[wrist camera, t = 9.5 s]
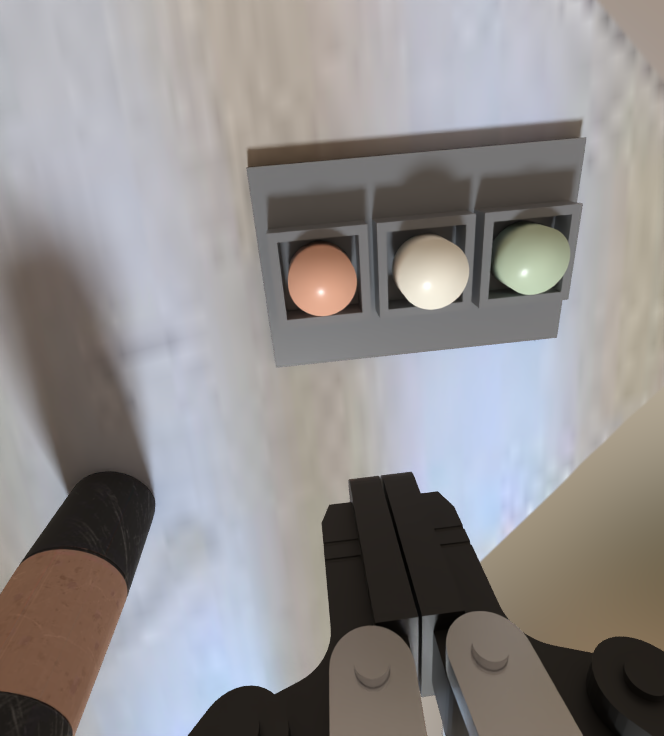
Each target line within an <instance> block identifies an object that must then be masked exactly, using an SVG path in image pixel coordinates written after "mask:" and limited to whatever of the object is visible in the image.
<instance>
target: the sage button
mask: <svg viewBox="0 0 664 736" xmlns="http://www.w3.org/2000/svg"><path fill="white" fill-rule="evenodd" d="M569 261H570V247H569V243H568V241H567V239H566V238H565V236H564V235H563V234H562V233H561V232H559V231H558V230H556V229H554V228H550V227H547V226H544V225H540V224H537V223H533V222H528V221H523V222H517V223H514V224H512V225H510V226H508V227H506V228H505V229H504V230H503V231H502V232H500V233H499V235H498V236H497V237H496V238H495V240H494V242H493V244H492V254H491V267H490V270H491V272H492V274H493V275H494V277H495V278H496V279H497V280H499V281H500V282H502V283H503V284H505V285H507V286H508V287H510V288H512V289H513V290H515V291H516V292H518V293H521V294H525V295H534V294H539V293H542V292H545V291H547V290H548V289H550V288H551V287H553V286H554V285H555V284H556V283H557V282H558V281H559V280H560V279H561V278H562V276H563V275H564V273H565V272H566V270H567V267H568V264H569Z"/></svg>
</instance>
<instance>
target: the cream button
mask: <svg viewBox="0 0 664 736" xmlns="http://www.w3.org/2000/svg"><path fill="white" fill-rule="evenodd" d="M392 275H393V279H394V282H395V284H396V285H397V287H398V288H399V289H400V291H401V292H402V293H403V295H404V296H405V297H406V298H407V300H408V301H409V302H410V303H412V304H413V305H415V306H417V307H419V308H422V309H428V310H433V309H439V308H443V307H445V306H447V305H449V304H451V303H452V302H453V301H455V300H456V299H457V298H458V297H459V296H460V295H461V293H462V292H463V290H464V289H465V287H466V284H467V282H468V278H469V264H468V260H467V258H466V256H465V254H464V252H463V251H462V250H461V249H460V248H459V247H458V246H457V245H455V244H453V243H452V242H450V241H448V240H446V239H445V238H443V237H441V236H439V235H436V234H430V233H424V234H419V235H416V236H414V237H411V238H410V239H408V240H407V241H406V242H404V243H403V244H402V245H401V246H400V248H399V249H398V251H397V252H396V254H395V257H394V259H393V264H392Z"/></svg>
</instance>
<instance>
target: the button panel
mask: <svg viewBox="0 0 664 736" xmlns="http://www.w3.org/2000/svg"><path fill="white" fill-rule="evenodd" d="M585 144H586V137H585V138H570V139H559V140H548V141H537V142H526V143H515V144H503V145H492V146H481V147H470V148H459V149H448V150H436V151H425V152H414V153H403V154H392V155H381V156H370V157H358V158H347V159H336V160H325V161H314V162H303V163H291V164H280V165H269V166H258V167H248V168H247V175H248V182H249V189H250V195H251V202H252V209H253V215H254V222H255V229H256V236H257V242H258V249H259V256H260V263H261V269H262V276H263V283H264V289H265V296H266V303H267V310H268V316H269V323H270V330H271V337H272V343H273V350H274V357H275V363H276V368H277V367H286V366H296V365H305V364H314V363H324V362H333V361H342V360H352V359H361V358H371V357H380V356H389V355H399V354H408V353H417V352H427V351H436V350H445V349H455V348H464V347H473V346H483V345H492V344H501V343H511V342H520V341H530V340H539V339H548V338H557V333H558V326H559V319H560V312H561V306H562V300H567V299H568V297H569V290H570V284H571V277H572V271H573V264H574V258H575V251H576V245H577V238H578V232H579V225H580V219H581V212H582V206H583V204H582V203H577V198H578V191H579V184H580V178H581V171H582V164H583V157H584V151H585ZM523 221H528V222H533V223H537V224H540V225H544V226H547V227H550V228H554V229H556V230H558V231H559V232H561V233H562V234H563V235H564V236H565V238H566V239H567V241H568V243H569V247H570V261H569V264H568V267H567V270H566V272H565V273H564V275H563V276H562V278H561V279H560V280H559V281H558V282H557V283H556V284H555V285H554V286H553V287H551V288H550V289H548V290H547V291H545V292H542V293H539V294H534V295H525V294H521V293H518V292H516V291H515V290H513V289H512V288H510V287H508V286H507V285H505V284H503V283H502V282H500V281H499V280H497V279H496V278H495V277H494V275H493V274H492V272H491V270H490V267H491V254H492V244H493V242H494V240H495V238H496V237H497V236H498V235H499V233H500V232H502V231H503V230H504V229H505V228H506V227H508V226H510V225H512V224H514V223H517V222H523ZM424 233H430V234H436V235H439V236H441V237H443V238H445V239H446V240H448V241H450V242H452V243H453V244H455V245H457V246H458V247H459V248H460V249H461V250H462V251H463V252H464V254H465V256H466V258H467V260H468V264H469V278H468V282H467V284H466V287H465V289H464V290H463V292H462V293H461V295H460V296H459V297H458V298H457V299H456V300H455V301H453V302H452V303H451V304H449V305H447V306H445V307H443V308H439V309H433V310H428V309H422V308H419V307H417V306H415V305H413V304H412V303H410V302H409V301H408V300H407V298H406V297H405V296H404V295H403V293H402V292H401V291H400V289H399V288H398V287H397V285H396V284H395V282H394V279H393V275H392V264H393V259H394V257H395V254H396V252H397V251H398V249H399V248H400V246H401V245H402V244H403V243H404V242H406V241H407V240H408V239H410V238H411V237H414V236H416V235H419V234H424ZM316 241H325V242H330V243H332V244H335V245H337V246H338V247H340V248H341V249H342V250H343V251H344V252H345V253H346V255H347V256H348V258H349V260H350V262H351V264H352V265H353V267H354V270H355V273H356V278H357V286H356V291H355V294H354V296H353V298H352V300H351V301H350V303H349V304H348V305H347V306H346V307H345V308H344V309H342V310H341V311H339V312H337V313H335V314H332V315H328V316H316V315H312V314H309V313H307V312H305V311H303V310H302V309H300V308H299V307H298V306H297V305H296V304H295V302H294V301H293V299H292V297H291V295H290V292H289V288H288V269H289V264H290V261H291V259H292V257H293V256H294V254H295V253H296V252H297V251H298V250H299V249H300V248H301V247H303V246H304V245H306V244H308V243H311V242H316Z"/></svg>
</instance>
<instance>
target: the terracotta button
mask: <svg viewBox="0 0 664 736" xmlns="http://www.w3.org/2000/svg"><path fill="white" fill-rule="evenodd" d="M356 286H357V278H356V273H355V270H354V267H353V265H352V264H351V262H350V260H349V258H348V256H347V255H346V253H345V252H344V251H343V250H342V249H341V248H340V247H338V246H337V245H335V244H332V243H330V242H325V241H316V242H311V243H308V244H306V245H304V246H303V247H301V248H300V249H299V250H298V251H297V252H296V253H295V254H294V256H293V257H292V259H291V261H290V264H289V269H288V288H289V292H290V295H291V297H292V299H293V301H294V302H295V304H296V305H297V306H298V307H299V308H300V309H302V310H303V311H305V312H307V313H309V314H312V315H316V316H328V315H332V314H335V313H337V312H339V311H341V310H342V309H344V308H345V307H346V306H347V305H348V304H349V303H350V301H351V300H352V298H353V296H354V294H355V291H356Z"/></svg>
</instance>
